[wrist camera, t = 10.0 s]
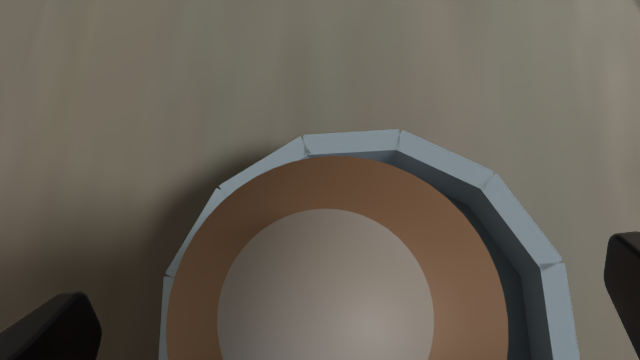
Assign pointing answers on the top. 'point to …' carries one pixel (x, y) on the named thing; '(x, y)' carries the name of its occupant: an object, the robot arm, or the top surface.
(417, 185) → the brown cylinder
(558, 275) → the bowl
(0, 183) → the top surface
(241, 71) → the top surface
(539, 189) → the top surface
